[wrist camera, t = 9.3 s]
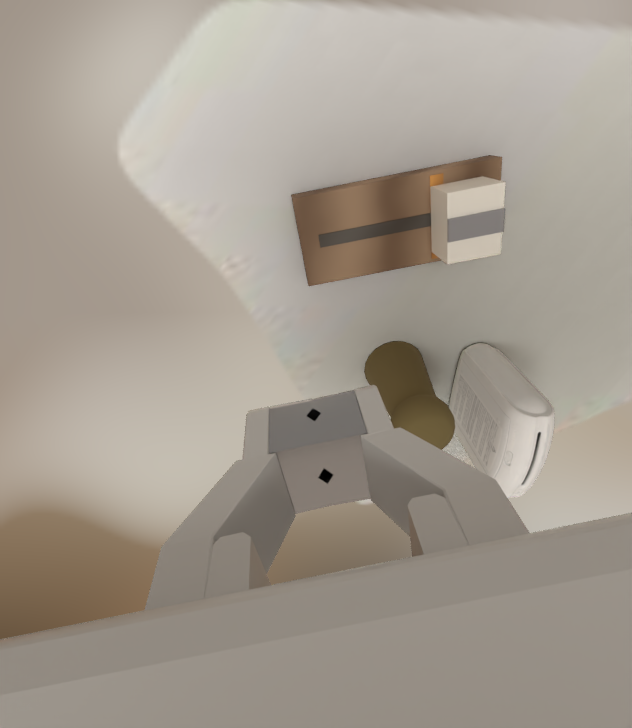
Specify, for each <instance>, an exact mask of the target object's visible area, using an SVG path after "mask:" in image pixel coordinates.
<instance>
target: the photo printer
mask: <svg viewBox="0 0 632 728" xmlns="http://www.w3.org/2000/svg"><path fill="white" fill-rule="evenodd" d="M449 409H450V410H451V412H452V414H453V415H454V420H455V430H454V432H455V434H456V435H457V437H458V439H459V441H460V442H461V444H462V446H463V448H464V449H465V451H466V453H467V454H468V456H469V458H470V460H471V461H472V463H473V465H474V467H475V468H476V469H477V470H479V471H481V472H483V473H484V474H486V475H488V476H490V477H492V478H493V479H495V480H496V481H497V483H498V484H499V486H500V487H501V489H502V490H503V492H504V494H505V495H506V497H507V498H510V497H520V496H521V495H523V494H524V493H525V492H526V491H527V490H528V489H529V488H530V487H531V486H532V485H533V484H534V482H535V481H536V479H537V478H538V476H539V474H540V472H541V470H542V468H543V466H544V464H545V461H546V458H547V456H548V453H549V449H550V445H551V442H552V437H553V432H554V422H555V417H554V408H553V406H552V404H551V403H550V401H549V400H548V399H547V398H546V397H545V396H544V395H543V394H542V393H541V392H540V391H539V390H538V389H537V388H536V387H535V386H534V385H533V384H532V383H531V382H530V381H529V380H528V379H527V378H526V377H525V376H524V375H523V373H522V372H521V371H520V370H519V369H518V368H517V367H516V366H515V365H514V364H513V363H512V362H511V361H510V360H509V359H508V358H507V357H506V356H505V355H504V354H503V353H502V352H501V351H500V350H498V349H497V348H493V347H491V346H490V345H488V344H485V343H477V344H473V345H471V346H469V347H467V348H466V349H464V350H463V351H462V354H461V356H460V359H459V362H458V366H457V370H456V374H455V379H454V383H453V388H452V393H451V397H450V402H449Z"/></svg>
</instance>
